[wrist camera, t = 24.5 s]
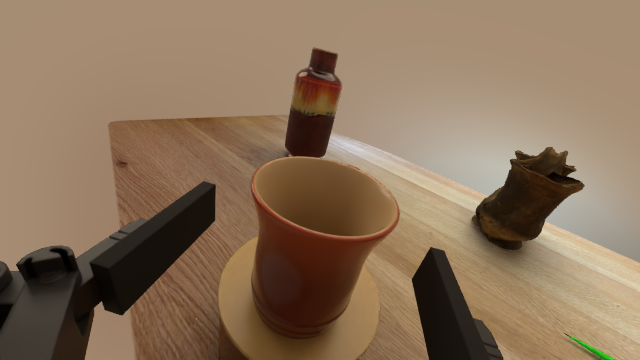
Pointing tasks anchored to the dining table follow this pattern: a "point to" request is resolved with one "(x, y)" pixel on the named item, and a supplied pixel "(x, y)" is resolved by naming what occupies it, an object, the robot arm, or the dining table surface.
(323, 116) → the vase
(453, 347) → the robot arm
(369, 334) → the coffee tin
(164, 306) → the dining table surface
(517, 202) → the pottery vessel
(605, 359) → the leaf
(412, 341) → the dining table surface
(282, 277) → the mug
